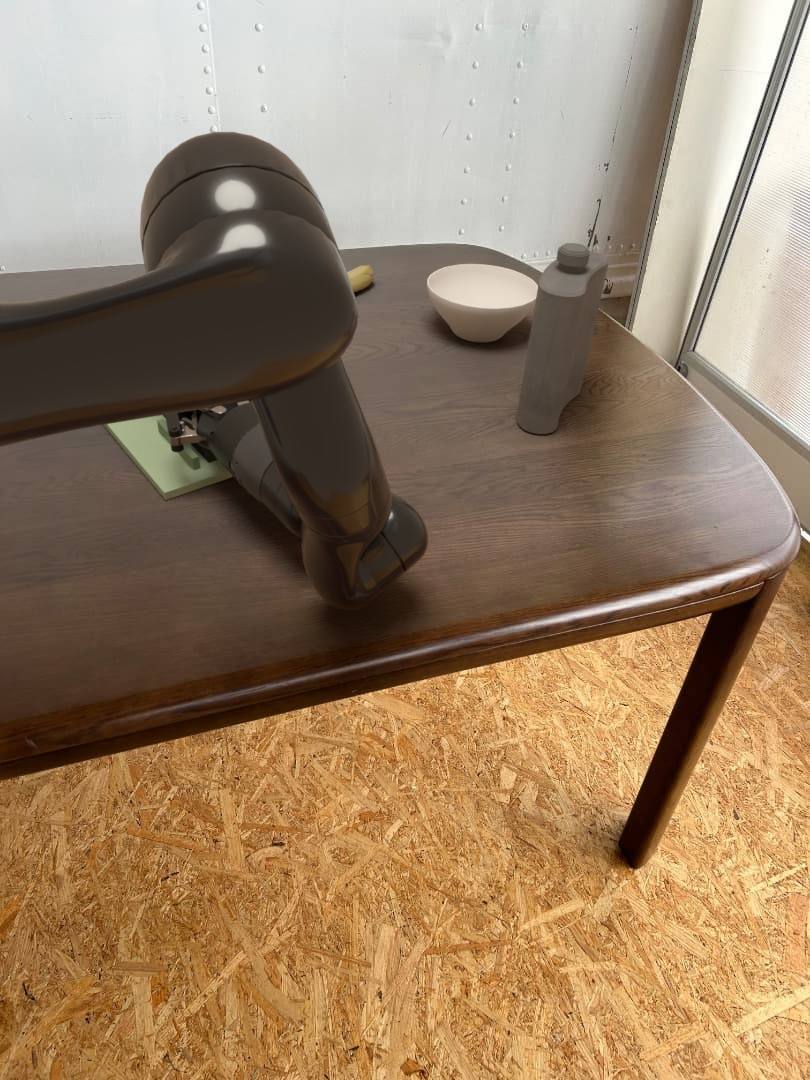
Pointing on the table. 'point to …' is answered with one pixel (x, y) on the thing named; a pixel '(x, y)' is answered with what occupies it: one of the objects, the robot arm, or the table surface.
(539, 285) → the flask
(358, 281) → the fruit
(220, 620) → the table surface
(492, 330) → the bowl
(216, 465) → the dock mat
